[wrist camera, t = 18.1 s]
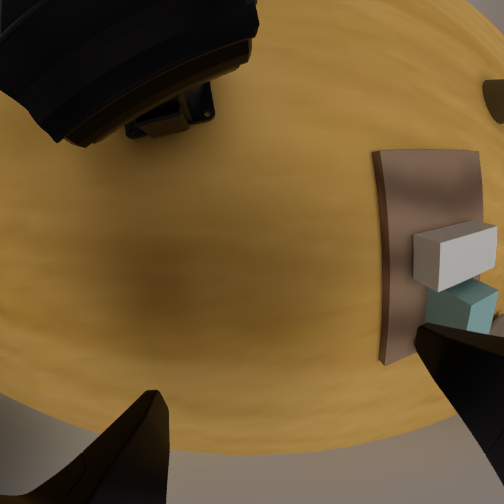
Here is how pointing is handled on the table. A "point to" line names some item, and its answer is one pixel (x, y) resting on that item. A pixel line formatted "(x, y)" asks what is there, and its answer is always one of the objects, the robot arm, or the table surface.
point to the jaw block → (463, 306)
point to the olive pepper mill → (495, 98)
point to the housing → (453, 253)
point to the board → (418, 228)
